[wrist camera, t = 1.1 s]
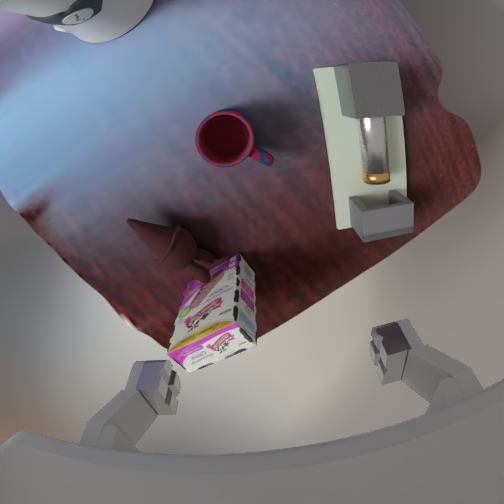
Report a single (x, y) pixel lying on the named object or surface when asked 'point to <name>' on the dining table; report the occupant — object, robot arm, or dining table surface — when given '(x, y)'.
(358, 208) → the socket
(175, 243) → the icecream
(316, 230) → the dining table surface
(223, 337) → the candy bar box
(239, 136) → the mug
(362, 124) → the tube
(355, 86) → the dark grey cube cap
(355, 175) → the board
